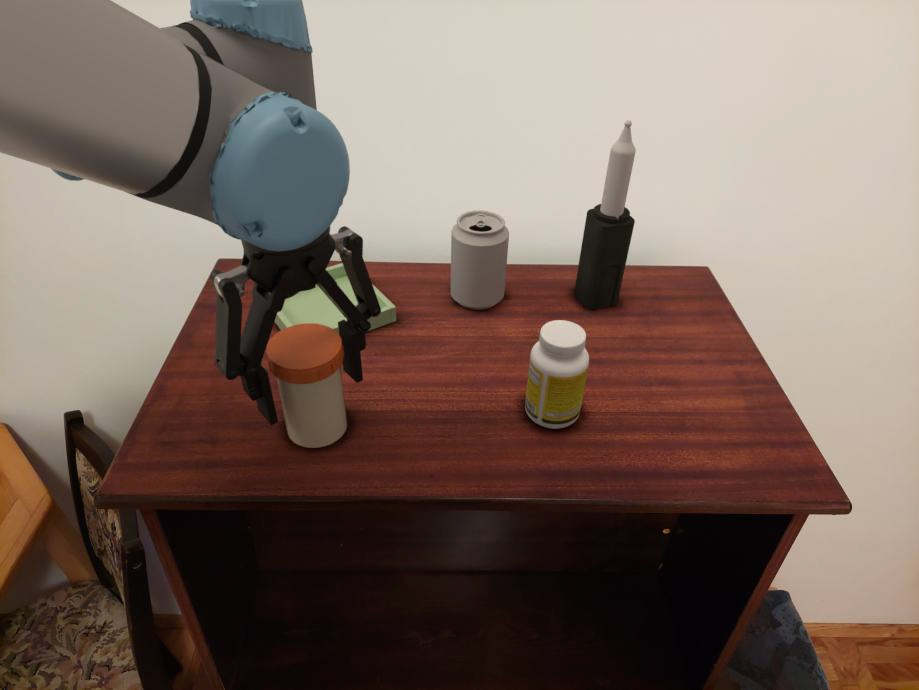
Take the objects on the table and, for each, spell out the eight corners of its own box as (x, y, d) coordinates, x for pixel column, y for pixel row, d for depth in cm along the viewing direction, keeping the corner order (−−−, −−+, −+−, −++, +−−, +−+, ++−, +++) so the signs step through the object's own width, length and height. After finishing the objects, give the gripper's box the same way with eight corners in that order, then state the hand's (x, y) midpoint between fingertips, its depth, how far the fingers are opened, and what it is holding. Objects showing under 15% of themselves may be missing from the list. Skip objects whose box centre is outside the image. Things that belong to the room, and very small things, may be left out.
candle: (603, 286, 93) (636, 111, 77) (620, 305, 89) (659, 125, 74) (571, 291, 92) (598, 114, 76) (587, 311, 88) (620, 129, 72)
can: (449, 312, 87) (450, 232, 79) (451, 282, 93) (452, 205, 85) (504, 314, 87) (511, 235, 79) (503, 283, 93) (509, 207, 85)
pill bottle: (588, 406, 73) (604, 328, 66) (563, 439, 69) (577, 360, 62) (540, 385, 76) (550, 308, 69) (513, 415, 72) (522, 337, 65)
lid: (358, 361, 64) (356, 346, 63) (295, 395, 60) (292, 379, 59) (317, 329, 68) (315, 314, 67) (255, 358, 64) (251, 343, 63)
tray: (300, 355, 79) (297, 341, 78) (260, 302, 88) (257, 288, 86) (396, 320, 85) (395, 306, 84) (350, 274, 94) (348, 260, 92)
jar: (301, 457, 66) (286, 379, 60) (278, 420, 70) (261, 343, 64) (357, 432, 69) (349, 356, 63) (331, 398, 73) (321, 323, 67)
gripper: (163, 254, 45) (227, 467, 59) (414, 175, 56) (418, 370, 70) (126, 214, 49) (194, 422, 63) (366, 149, 61) (379, 337, 75)
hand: (312, 394), depth 67 cm, fingers open, 9 cm apart
